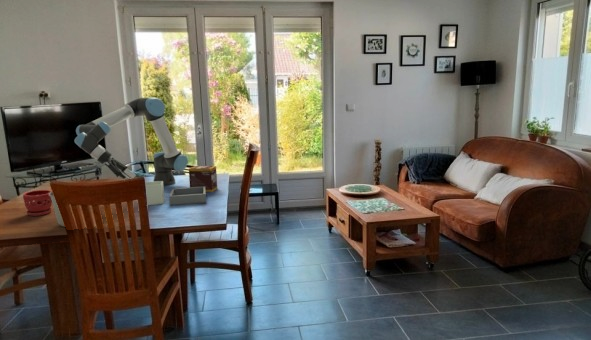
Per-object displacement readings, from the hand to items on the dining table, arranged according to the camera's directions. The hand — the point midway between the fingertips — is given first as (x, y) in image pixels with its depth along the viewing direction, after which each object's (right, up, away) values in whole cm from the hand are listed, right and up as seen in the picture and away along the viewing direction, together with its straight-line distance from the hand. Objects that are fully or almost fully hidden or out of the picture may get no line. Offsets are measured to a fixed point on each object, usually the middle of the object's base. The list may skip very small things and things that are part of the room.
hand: (132, 179), depth 226 cm
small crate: (+11, -14, +5) cm, 18 cm away
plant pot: (-44, -19, -13) cm, 50 cm away
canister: (-15, -21, -32) cm, 42 cm away
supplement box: (+34, -8, +34) cm, 49 cm away
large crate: (+30, -13, +8) cm, 34 cm away
